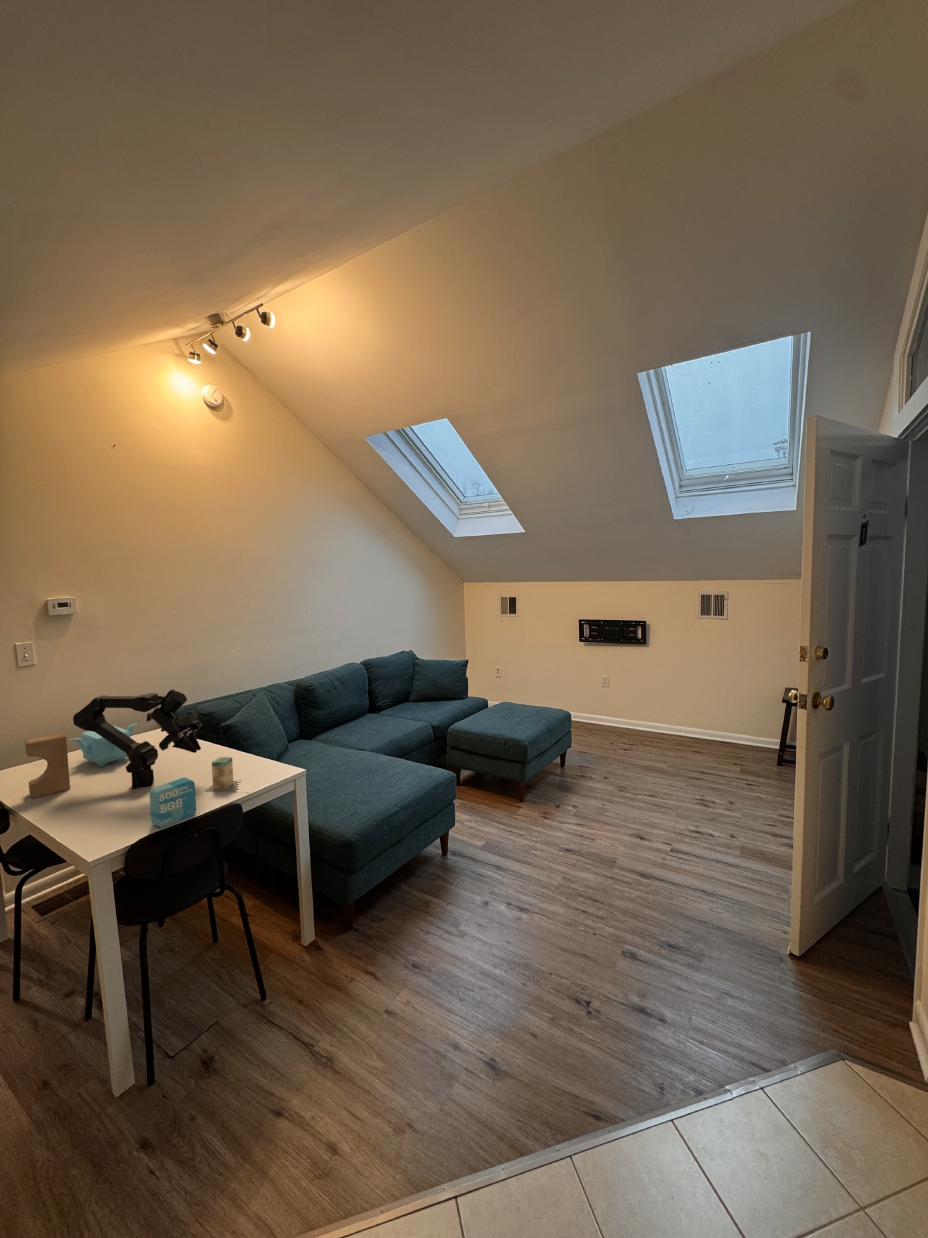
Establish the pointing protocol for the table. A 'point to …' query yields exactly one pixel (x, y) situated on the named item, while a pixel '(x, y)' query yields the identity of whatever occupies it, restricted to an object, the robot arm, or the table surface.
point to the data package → (172, 802)
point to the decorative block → (49, 764)
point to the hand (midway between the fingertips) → (198, 750)
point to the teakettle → (101, 747)
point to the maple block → (222, 772)
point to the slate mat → (229, 789)
